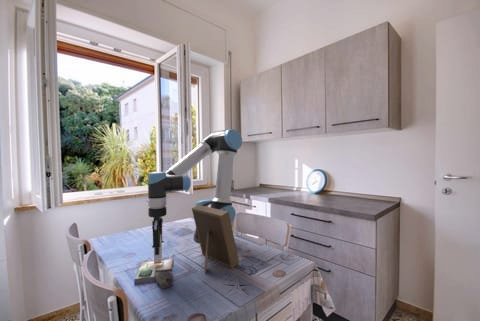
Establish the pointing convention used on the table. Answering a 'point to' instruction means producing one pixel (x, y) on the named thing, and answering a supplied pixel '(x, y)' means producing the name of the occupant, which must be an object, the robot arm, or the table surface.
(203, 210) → the photo frame
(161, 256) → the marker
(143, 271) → the button
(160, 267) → the cream rectangular board
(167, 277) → the stone
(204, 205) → the robot arm
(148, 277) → the button housing
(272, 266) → the table surface
